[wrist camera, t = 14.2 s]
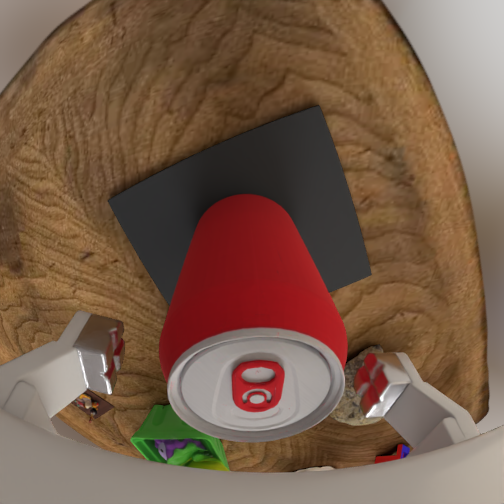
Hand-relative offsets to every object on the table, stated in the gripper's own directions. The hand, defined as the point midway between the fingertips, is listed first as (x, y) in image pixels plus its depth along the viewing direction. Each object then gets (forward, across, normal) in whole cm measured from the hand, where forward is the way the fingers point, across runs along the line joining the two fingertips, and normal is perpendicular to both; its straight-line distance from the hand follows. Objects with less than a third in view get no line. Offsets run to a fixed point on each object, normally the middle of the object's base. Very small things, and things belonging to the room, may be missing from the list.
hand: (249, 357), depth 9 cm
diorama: (+11, +13, +22) cm, 28 cm away
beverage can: (+11, 0, 0) cm, 11 cm away
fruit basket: (+11, +1, +22) cm, 25 cm away
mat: (+11, 0, 0) cm, 11 cm away
